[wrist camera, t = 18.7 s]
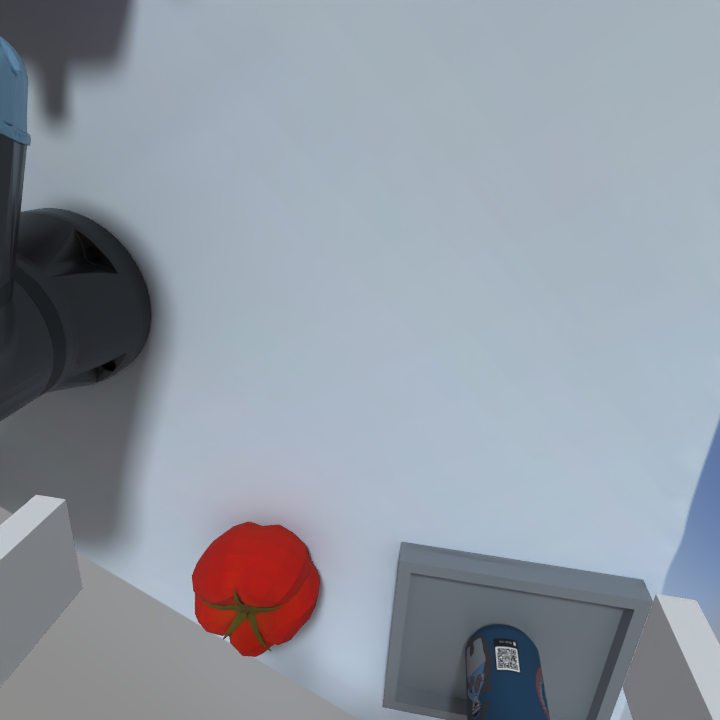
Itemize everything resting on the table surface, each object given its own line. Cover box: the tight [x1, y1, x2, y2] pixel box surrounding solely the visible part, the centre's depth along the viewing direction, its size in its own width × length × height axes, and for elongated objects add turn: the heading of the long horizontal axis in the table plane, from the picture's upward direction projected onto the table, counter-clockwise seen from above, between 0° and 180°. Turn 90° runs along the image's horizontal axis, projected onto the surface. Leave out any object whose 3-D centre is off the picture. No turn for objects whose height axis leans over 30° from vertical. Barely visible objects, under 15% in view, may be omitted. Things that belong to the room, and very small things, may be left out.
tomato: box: [192, 522, 320, 657], centre depth 50 cm, size 11×12×9 cm
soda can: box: [465, 623, 550, 720], centre depth 47 cm, size 7×7×12 cm
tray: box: [383, 542, 653, 720], centre depth 52 cm, size 22×20×2 cm
